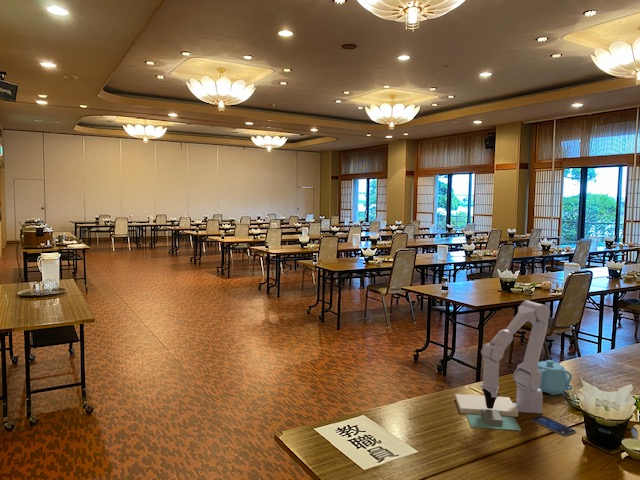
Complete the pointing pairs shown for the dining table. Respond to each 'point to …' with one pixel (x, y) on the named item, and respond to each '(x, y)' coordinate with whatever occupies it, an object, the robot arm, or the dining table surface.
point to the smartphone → (553, 425)
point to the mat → (479, 422)
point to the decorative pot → (554, 377)
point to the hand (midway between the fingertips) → (489, 407)
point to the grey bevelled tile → (492, 417)
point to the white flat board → (477, 403)
